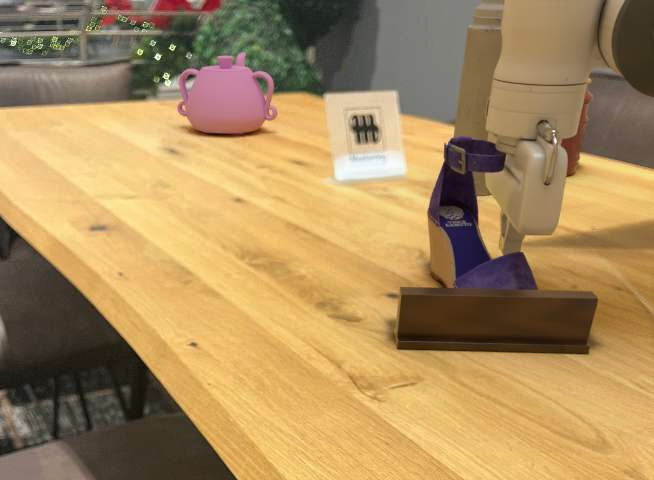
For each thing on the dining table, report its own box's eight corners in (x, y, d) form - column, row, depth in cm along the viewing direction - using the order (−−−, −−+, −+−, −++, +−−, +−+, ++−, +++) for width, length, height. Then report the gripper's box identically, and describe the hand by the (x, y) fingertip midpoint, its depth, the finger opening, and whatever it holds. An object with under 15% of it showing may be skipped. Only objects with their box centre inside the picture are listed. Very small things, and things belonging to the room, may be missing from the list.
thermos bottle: (446, 182, 126) (473, -23, 110) (496, 184, 125) (529, -22, 109) (446, 194, 120) (474, -21, 104) (498, 196, 119) (535, -21, 103)
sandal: (486, 336, 75) (514, 174, 66) (411, 270, 91) (426, 132, 82) (561, 329, 76) (598, 170, 68) (474, 265, 92) (495, 129, 83)
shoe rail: (577, 336, 75) (589, 287, 72) (588, 354, 72) (602, 302, 69) (393, 332, 76) (398, 282, 73) (397, 349, 72) (402, 298, 69)
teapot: (290, 122, 171) (291, 51, 163) (267, 140, 154) (267, 62, 146) (197, 117, 175) (194, 48, 167) (164, 135, 158) (159, 58, 150)
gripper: (596, 133, 66) (561, 287, 74) (542, 98, 83) (519, 227, 91) (522, 132, 67) (495, 286, 75) (484, 97, 83) (465, 226, 91)
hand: (508, 253), depth 83 cm, fingers closed
